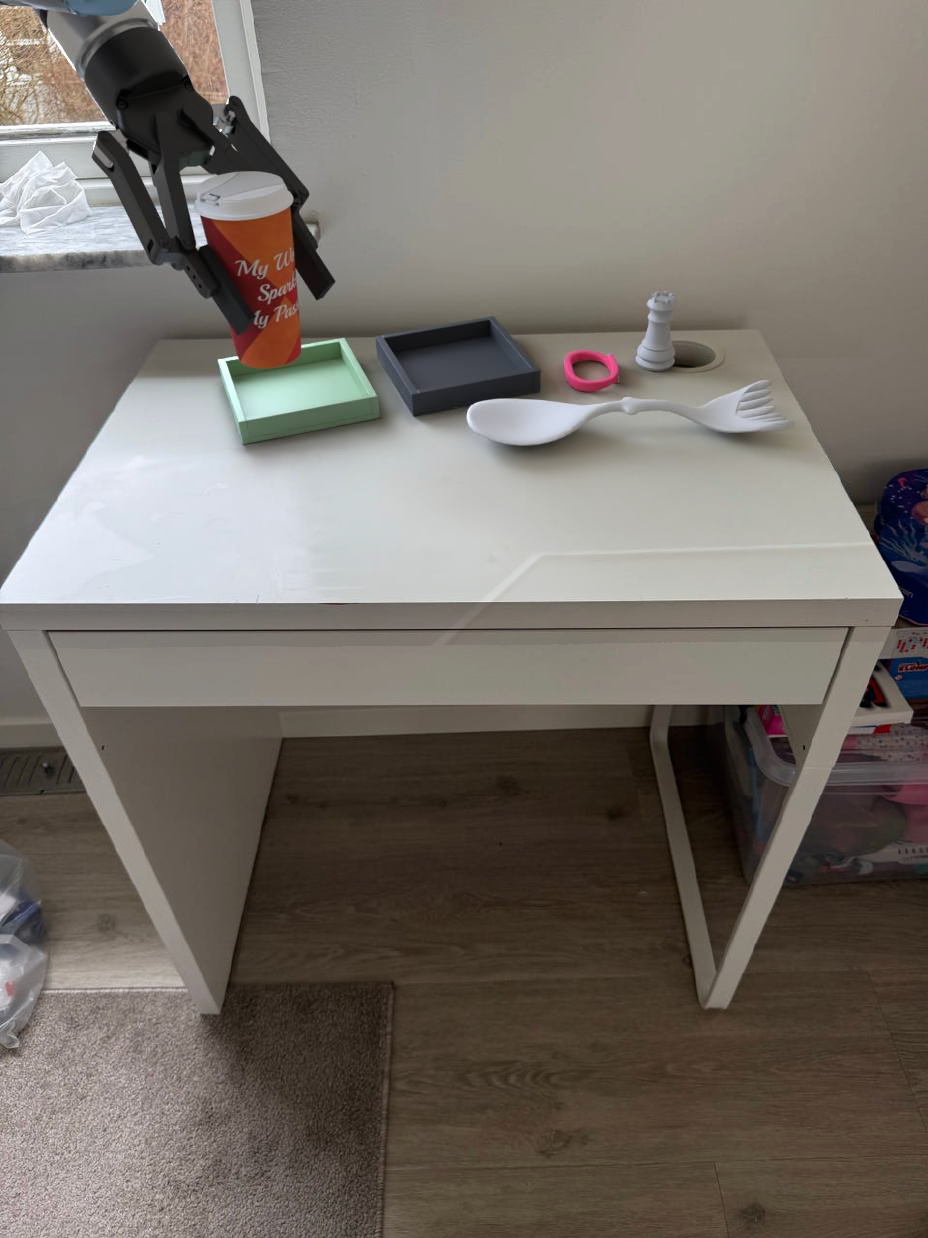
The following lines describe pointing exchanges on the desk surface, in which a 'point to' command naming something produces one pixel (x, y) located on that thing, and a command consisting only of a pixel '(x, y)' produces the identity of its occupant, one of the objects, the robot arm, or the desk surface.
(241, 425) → the sage tray
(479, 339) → the charcoal tray
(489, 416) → the spoon
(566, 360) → the fitness band
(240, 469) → the desk surface
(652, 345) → the rook chess piece
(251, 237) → the paper cup
